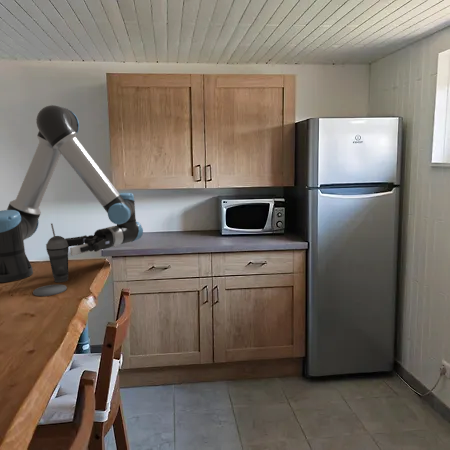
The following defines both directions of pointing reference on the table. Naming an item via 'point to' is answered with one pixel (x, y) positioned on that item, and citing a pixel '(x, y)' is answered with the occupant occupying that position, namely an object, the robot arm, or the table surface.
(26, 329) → the table surface
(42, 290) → the coaster
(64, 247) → the beverage cup
